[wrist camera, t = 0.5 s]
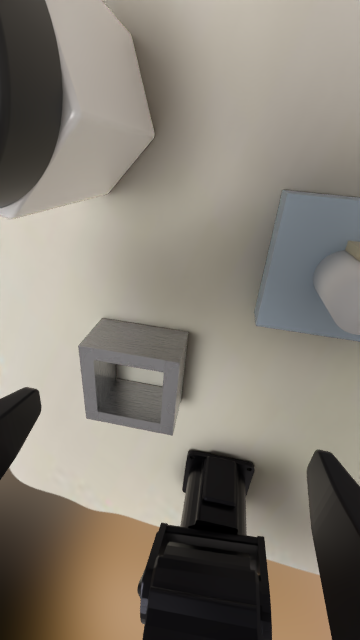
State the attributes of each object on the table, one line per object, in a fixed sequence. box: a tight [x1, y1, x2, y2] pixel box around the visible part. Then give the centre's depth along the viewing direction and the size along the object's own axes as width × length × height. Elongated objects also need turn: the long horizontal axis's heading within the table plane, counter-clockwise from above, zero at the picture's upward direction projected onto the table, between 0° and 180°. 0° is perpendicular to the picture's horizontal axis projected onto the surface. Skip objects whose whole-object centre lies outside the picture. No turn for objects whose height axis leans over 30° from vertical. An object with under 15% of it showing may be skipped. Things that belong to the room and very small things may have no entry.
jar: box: [0, 0, 155, 219], centre depth 12 cm, size 9×8×12 cm
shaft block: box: [254, 190, 360, 342], centre depth 16 cm, size 8×8×6 cm
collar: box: [78, 318, 189, 436], centre depth 23 cm, size 7×7×4 cm
